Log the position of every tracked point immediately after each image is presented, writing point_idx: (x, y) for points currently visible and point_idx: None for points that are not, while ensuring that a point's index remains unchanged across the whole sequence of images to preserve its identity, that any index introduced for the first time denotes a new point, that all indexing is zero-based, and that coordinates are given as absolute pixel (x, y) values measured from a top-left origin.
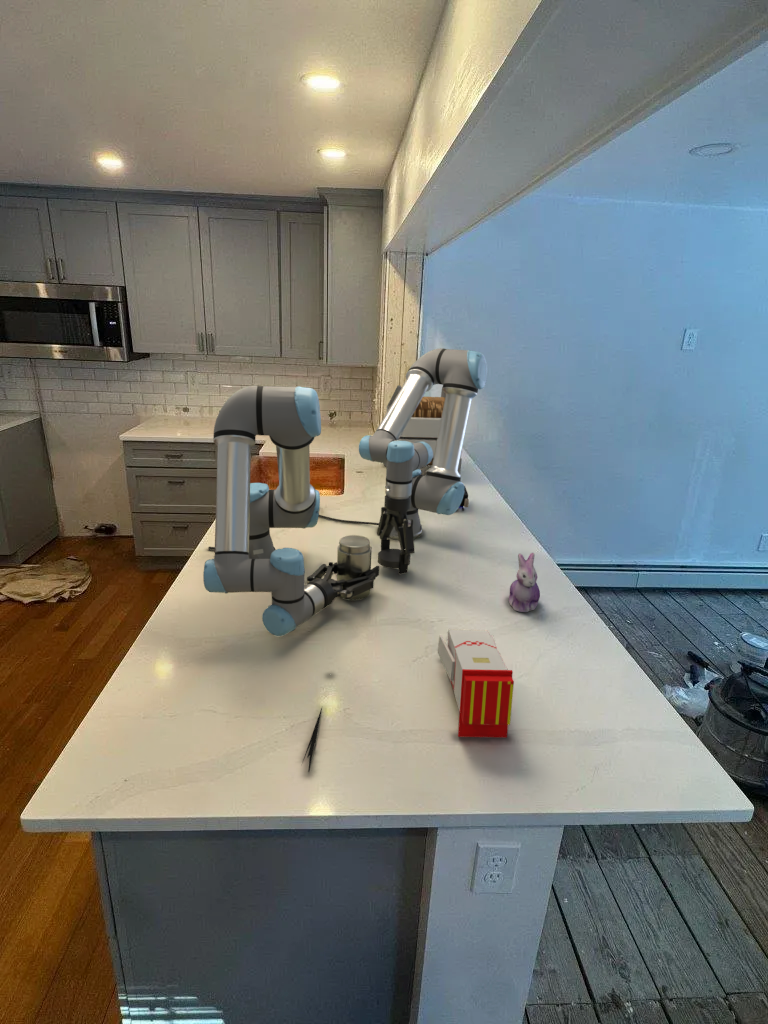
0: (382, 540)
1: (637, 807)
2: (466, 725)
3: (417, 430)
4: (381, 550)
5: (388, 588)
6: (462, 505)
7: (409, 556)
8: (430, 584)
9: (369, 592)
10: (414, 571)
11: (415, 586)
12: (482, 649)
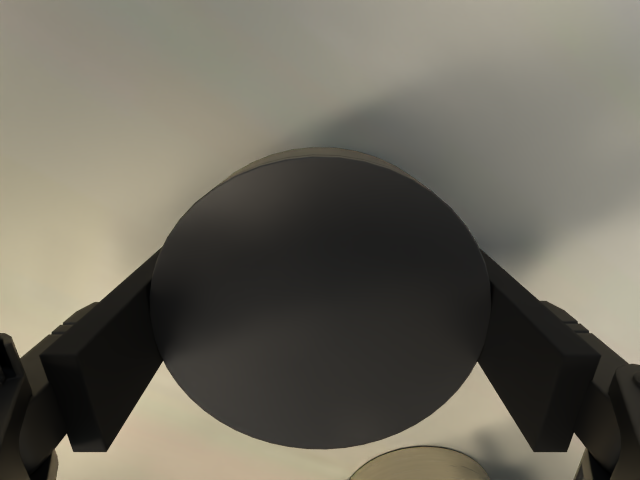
0: (80, 444)
1: None
2: None
3: None
4: (173, 376)
5: (480, 370)
6: None
7: (434, 211)
8: (619, 119)
9: (481, 473)
10: (382, 103)
11: (564, 232)
12: None
